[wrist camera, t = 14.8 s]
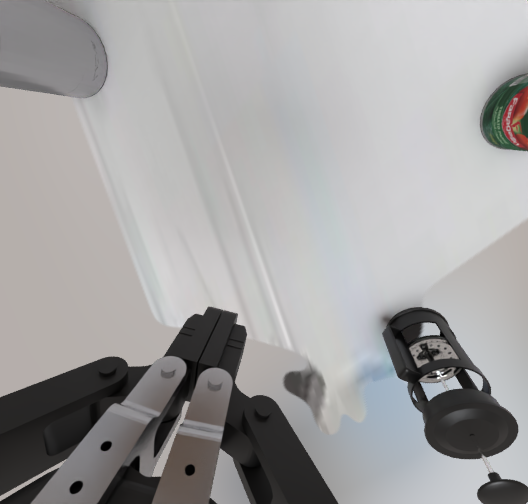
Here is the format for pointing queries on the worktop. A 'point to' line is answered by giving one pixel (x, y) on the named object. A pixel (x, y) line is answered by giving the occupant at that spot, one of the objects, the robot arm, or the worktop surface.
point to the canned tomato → (507, 115)
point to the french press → (454, 401)
